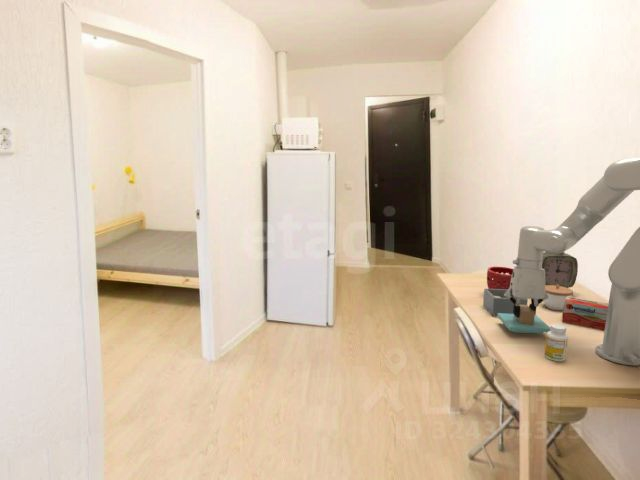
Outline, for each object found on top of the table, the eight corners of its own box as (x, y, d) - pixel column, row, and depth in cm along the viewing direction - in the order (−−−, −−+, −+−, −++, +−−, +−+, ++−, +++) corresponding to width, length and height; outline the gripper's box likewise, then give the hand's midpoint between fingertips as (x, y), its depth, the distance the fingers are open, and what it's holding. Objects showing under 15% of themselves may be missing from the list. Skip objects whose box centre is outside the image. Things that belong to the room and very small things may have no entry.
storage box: (525, 317, 157) (527, 299, 155) (492, 316, 158) (493, 298, 157) (514, 306, 168) (515, 289, 167) (483, 305, 170) (484, 288, 168)
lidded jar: (575, 313, 162) (578, 289, 160) (544, 311, 164) (547, 287, 162) (564, 304, 172) (567, 282, 171) (536, 302, 174) (538, 280, 173)
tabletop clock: (538, 294, 185) (544, 238, 180) (531, 288, 194) (537, 234, 189) (574, 296, 182) (581, 239, 178) (566, 290, 191) (573, 235, 187)
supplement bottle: (551, 352, 128) (555, 321, 127) (569, 359, 124) (573, 327, 122) (540, 355, 126) (543, 324, 124) (557, 363, 121) (561, 331, 119)
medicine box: (612, 325, 151) (615, 304, 149) (611, 332, 144) (615, 310, 143) (564, 316, 159) (566, 295, 158) (561, 322, 153) (563, 301, 152)
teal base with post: (551, 335, 137) (553, 315, 136) (509, 334, 138) (511, 313, 137) (534, 321, 150) (536, 302, 149) (496, 319, 151) (498, 301, 150)
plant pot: (486, 300, 176) (488, 272, 174) (484, 291, 188) (486, 265, 186) (520, 303, 172) (523, 275, 170) (516, 294, 185) (518, 267, 182)
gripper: (507, 265, 137) (501, 319, 141) (561, 267, 136) (554, 321, 139) (499, 260, 145) (494, 311, 148) (550, 262, 143) (544, 313, 147)
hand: (523, 315), depth 144 cm, fingers closed on teal base with post, 4 cm apart
